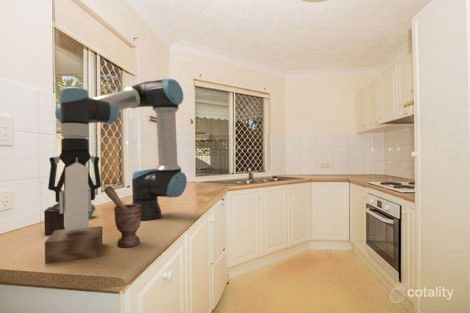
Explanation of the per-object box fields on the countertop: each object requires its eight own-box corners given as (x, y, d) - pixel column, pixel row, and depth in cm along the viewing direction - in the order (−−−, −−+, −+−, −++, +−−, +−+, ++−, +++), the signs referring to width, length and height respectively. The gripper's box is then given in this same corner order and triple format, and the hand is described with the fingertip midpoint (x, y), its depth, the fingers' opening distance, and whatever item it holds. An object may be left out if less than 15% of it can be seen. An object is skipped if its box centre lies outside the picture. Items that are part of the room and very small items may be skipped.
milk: (66, 231, 88) (65, 157, 87) (63, 227, 92) (62, 157, 92) (89, 228, 91) (87, 157, 91) (85, 224, 96) (84, 157, 96)
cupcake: (99, 217, 143) (98, 192, 143) (82, 220, 136) (81, 195, 136) (89, 215, 148) (88, 191, 148) (72, 218, 141) (71, 193, 141)
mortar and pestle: (104, 251, 93) (104, 188, 93) (104, 243, 101) (104, 185, 101) (142, 246, 98) (142, 186, 97) (139, 239, 105) (139, 183, 105)
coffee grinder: (43, 236, 111) (42, 188, 111) (48, 229, 121) (47, 185, 121) (88, 231, 117) (88, 186, 117) (90, 225, 127) (89, 184, 127)
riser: (102, 243, 101) (102, 226, 101) (99, 256, 88) (99, 236, 88) (55, 248, 96) (55, 230, 96) (45, 263, 83) (44, 242, 83)
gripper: (110, 139, 99) (111, 207, 99) (40, 138, 91) (41, 211, 92) (109, 137, 92) (110, 211, 92) (34, 137, 84) (35, 216, 85)
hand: (76, 211), depth 92 cm, fingers closed on milk, 7 cm apart
